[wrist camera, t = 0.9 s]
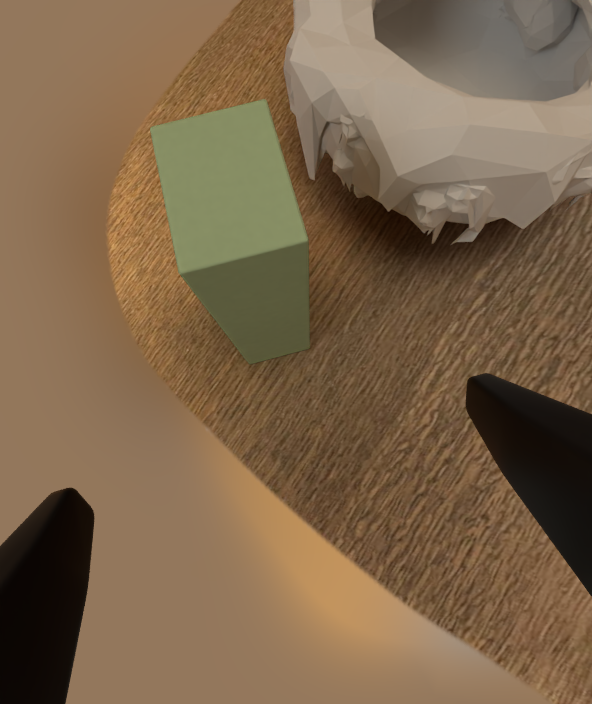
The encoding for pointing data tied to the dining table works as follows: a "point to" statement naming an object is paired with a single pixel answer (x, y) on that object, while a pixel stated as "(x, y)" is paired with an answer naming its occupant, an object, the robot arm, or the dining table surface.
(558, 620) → the dining table surface
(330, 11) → the bowl
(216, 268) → the tall sage green pillar
